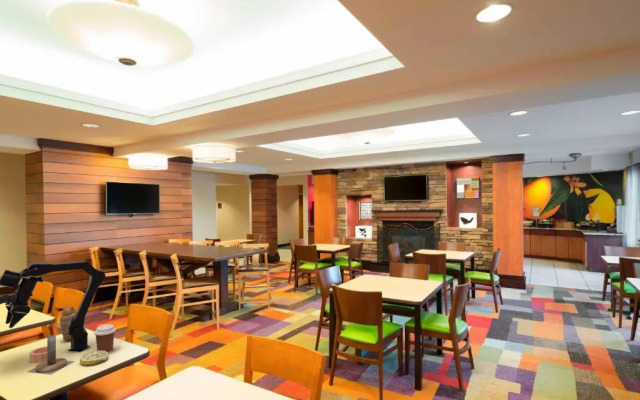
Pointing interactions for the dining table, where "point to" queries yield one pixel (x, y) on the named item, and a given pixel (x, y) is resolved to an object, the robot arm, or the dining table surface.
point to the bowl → (38, 355)
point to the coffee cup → (105, 337)
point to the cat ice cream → (66, 321)
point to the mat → (52, 371)
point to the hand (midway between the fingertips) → (8, 325)
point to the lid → (51, 358)
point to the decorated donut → (93, 358)
